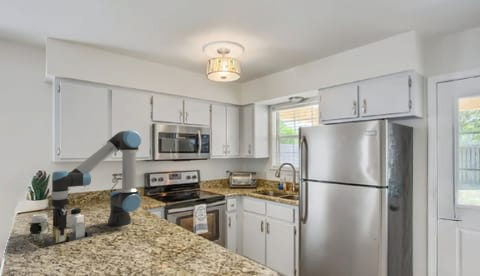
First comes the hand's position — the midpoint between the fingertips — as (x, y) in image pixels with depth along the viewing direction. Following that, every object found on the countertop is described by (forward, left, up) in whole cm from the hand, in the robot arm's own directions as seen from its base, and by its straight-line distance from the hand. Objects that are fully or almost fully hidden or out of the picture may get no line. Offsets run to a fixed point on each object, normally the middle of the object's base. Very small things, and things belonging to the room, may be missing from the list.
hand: (59, 240), depth 155 cm
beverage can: (+1, -28, -1) cm, 28 cm away
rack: (-5, 0, -1) cm, 5 cm away
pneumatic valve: (+5, -15, -1) cm, 16 cm away
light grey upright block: (-10, 0, -1) cm, 10 cm away
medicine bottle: (-20, -29, -1) cm, 35 cm away
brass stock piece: (0, 0, 0) cm, 0 cm away
